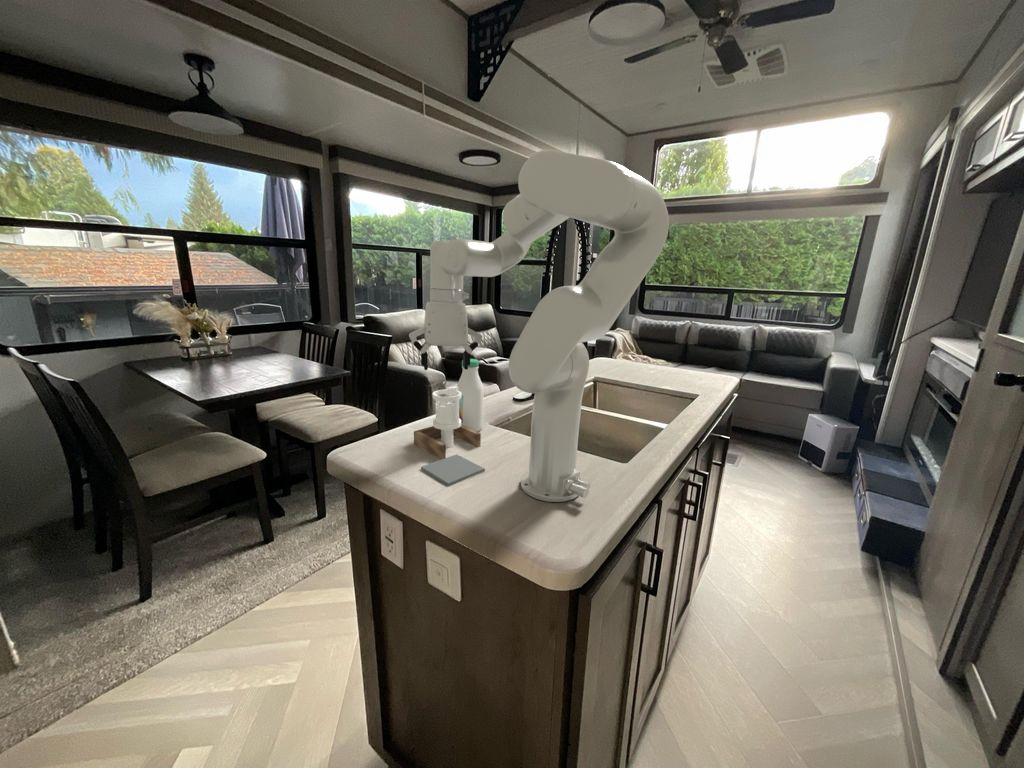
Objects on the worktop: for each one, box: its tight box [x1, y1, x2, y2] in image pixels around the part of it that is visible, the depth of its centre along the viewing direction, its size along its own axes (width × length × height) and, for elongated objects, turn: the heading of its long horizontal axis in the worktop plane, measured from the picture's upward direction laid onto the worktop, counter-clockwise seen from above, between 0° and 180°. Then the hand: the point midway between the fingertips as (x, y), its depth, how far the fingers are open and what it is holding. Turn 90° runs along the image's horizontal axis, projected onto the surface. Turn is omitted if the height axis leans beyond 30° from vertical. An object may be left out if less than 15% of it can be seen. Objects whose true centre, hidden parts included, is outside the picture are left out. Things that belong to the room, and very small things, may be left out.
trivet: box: [420, 454, 486, 487], centre depth 89 cm, size 10×10×1 cm
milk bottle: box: [456, 358, 485, 432], centre depth 112 cm, size 8×8×20 cm
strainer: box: [432, 385, 462, 449], centre depth 101 cm, size 7×7×15 cm
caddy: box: [413, 425, 482, 460], centre depth 102 cm, size 12×12×4 cm
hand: (445, 368), depth 98 cm, fingers open, 9 cm apart
